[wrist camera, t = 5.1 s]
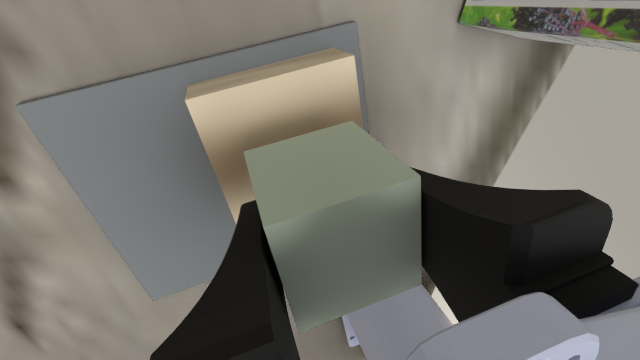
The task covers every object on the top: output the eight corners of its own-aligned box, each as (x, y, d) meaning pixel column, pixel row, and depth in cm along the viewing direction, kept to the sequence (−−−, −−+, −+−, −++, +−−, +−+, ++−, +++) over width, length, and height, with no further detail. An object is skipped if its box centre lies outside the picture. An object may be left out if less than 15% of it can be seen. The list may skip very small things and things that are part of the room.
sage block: (363, 208, 16) (421, 284, 11) (272, 239, 15) (299, 333, 11) (352, 120, 13) (420, 176, 9) (243, 151, 12) (263, 228, 8)
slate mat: (375, 215, 26) (378, 219, 25) (153, 294, 23) (152, 301, 22) (352, 21, 18) (356, 21, 18) (21, 102, 15) (14, 106, 15)
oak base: (352, 170, 22) (370, 192, 20) (237, 208, 21) (241, 236, 18) (333, 47, 18) (354, 55, 15) (187, 85, 17) (184, 100, 14)
